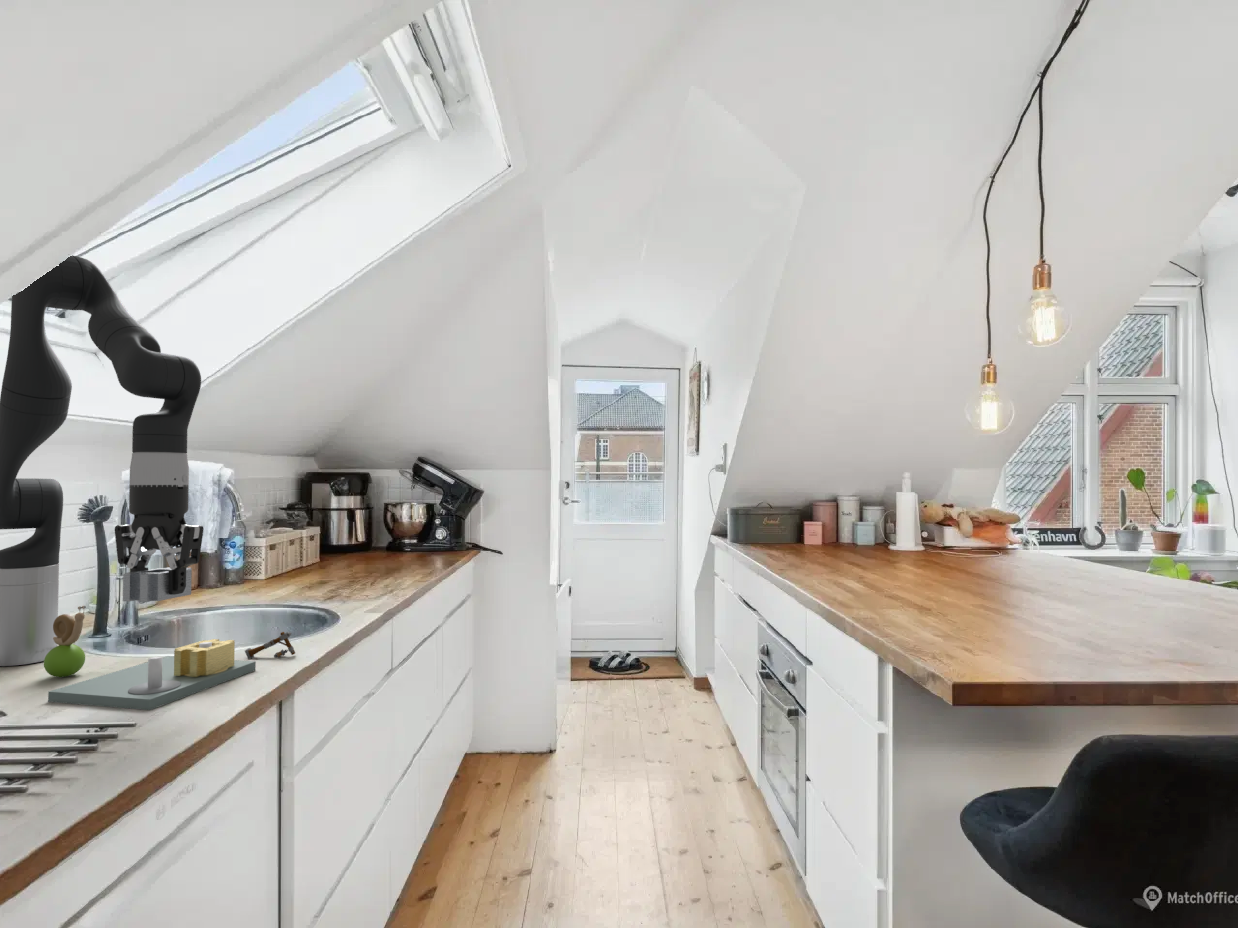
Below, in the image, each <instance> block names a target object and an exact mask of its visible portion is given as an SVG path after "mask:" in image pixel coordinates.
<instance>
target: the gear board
mask: <svg viewBox="0 0 1238 928" xmlns="http://www.w3.org/2000/svg"><path fill="white" fill-rule="evenodd" d="M211 646H212V642H204V643H200V644H199V648H208V647H211ZM254 671H256V661H253V660H238V659H237V660H236V659H234V666H232V667H229V668H226V669H224V670H221V671H218V672H215V673H212V674H209V675H207V676H204V675H201V676H198V677H190V675H189V674H185V675H182V676H174V656H173V655H167V656H163V657H162V656H151V657H149V658H148V659H147V662H143V663H140V664H137V665H132V666H130V667H126V668H124V669H119V670H116V671H112V672H110V673H106V674H102V675H99V676H96V677H92V678H89V679H86V680H82V681H79V682H76V683H72V684H70V685H66V686H62V687H59V688H56V689H53V690H49V691H48V692H47V697H48V699H47V702H49V703H59V704H74V705H82V706H83V705H85V706H94V707H95V706H97V707H107V708H108V707H109V708H120V709H122V708H123V709H131V710H132V709H134V710H145V711H146V710H147V711H151V710H154V709H156V708H158V707H161V706H164V705H167V704H169V703H172V702H175V701H177V700H180V699H182V698H185V697H188V696H191V695H193V694H195V693H199V692H201V691H204V690H206V689H209V688H212V687H215V686H217V685H220V684H223V683H225V682H228V681H230V680H233V679H236V678H239V677H241V676H244V675H246V674H248V673H249V674H250V673H251V672H254Z"/></svg>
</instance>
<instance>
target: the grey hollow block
mask: <svg viewBox="0 0 1238 928" xmlns="http://www.w3.org/2000/svg"><path fill="white" fill-rule="evenodd" d="M169 570H172V569H170V567H157V568H148V570H142V571H135V572H130V571H129V572H128V571H127V572H124V573H123V574H122V602H135V601H139V603H151V602H160V601H166V600H170V599H176V598H181V597H185V596H190V595H192V570H193V569H192V567H187V569H186V587H185V589H184V592H183V593H181V594H175V595H171V594H169V572H168V571H169Z"/></svg>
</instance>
